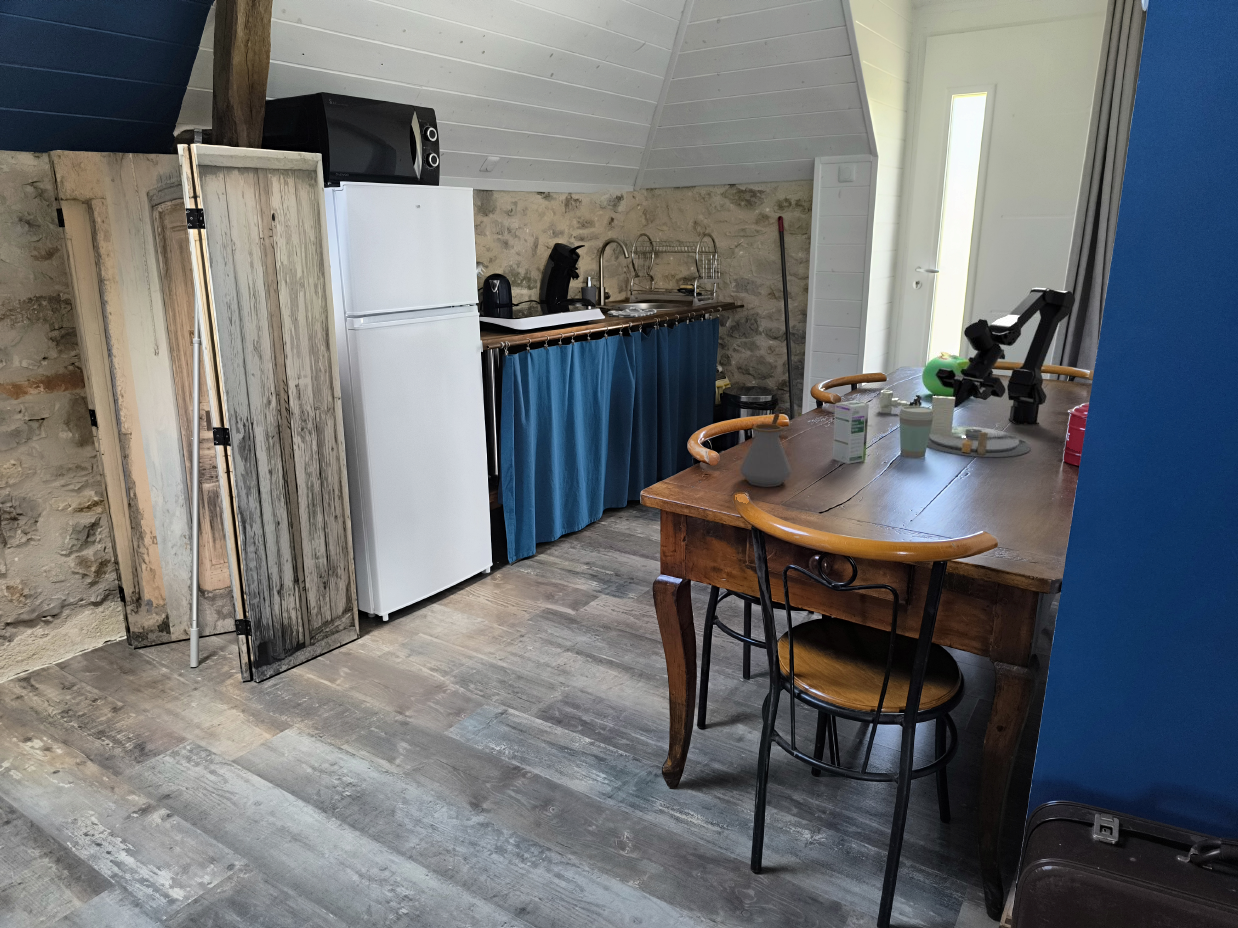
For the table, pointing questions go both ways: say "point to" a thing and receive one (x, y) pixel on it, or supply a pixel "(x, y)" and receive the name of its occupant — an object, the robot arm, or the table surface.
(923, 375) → the toy bird
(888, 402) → the valve
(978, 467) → the table surface
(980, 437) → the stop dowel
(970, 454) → the grey round disc
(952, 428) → the grey stand
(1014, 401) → the robot arm
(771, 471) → the coffee pot
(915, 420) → the coffee cup
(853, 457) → the syrup box
